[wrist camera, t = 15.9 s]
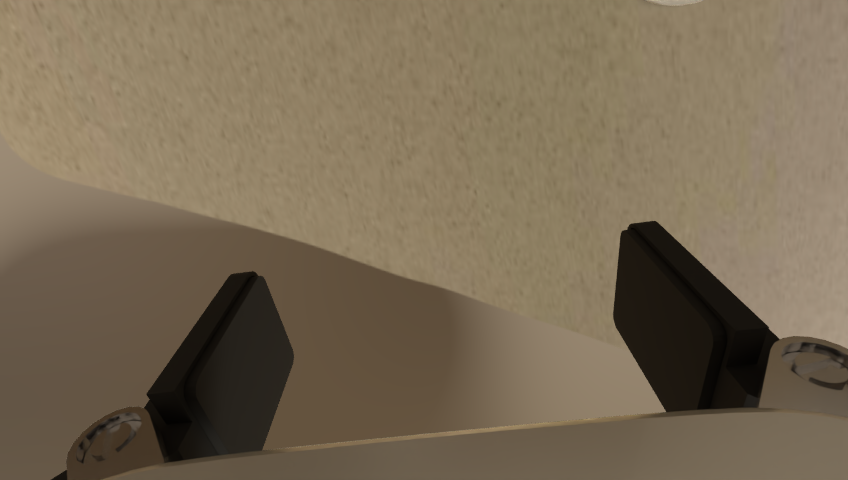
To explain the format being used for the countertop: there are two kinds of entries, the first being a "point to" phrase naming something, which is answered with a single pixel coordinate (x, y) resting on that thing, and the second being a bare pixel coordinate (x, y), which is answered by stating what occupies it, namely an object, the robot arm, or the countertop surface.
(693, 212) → the countertop surface
